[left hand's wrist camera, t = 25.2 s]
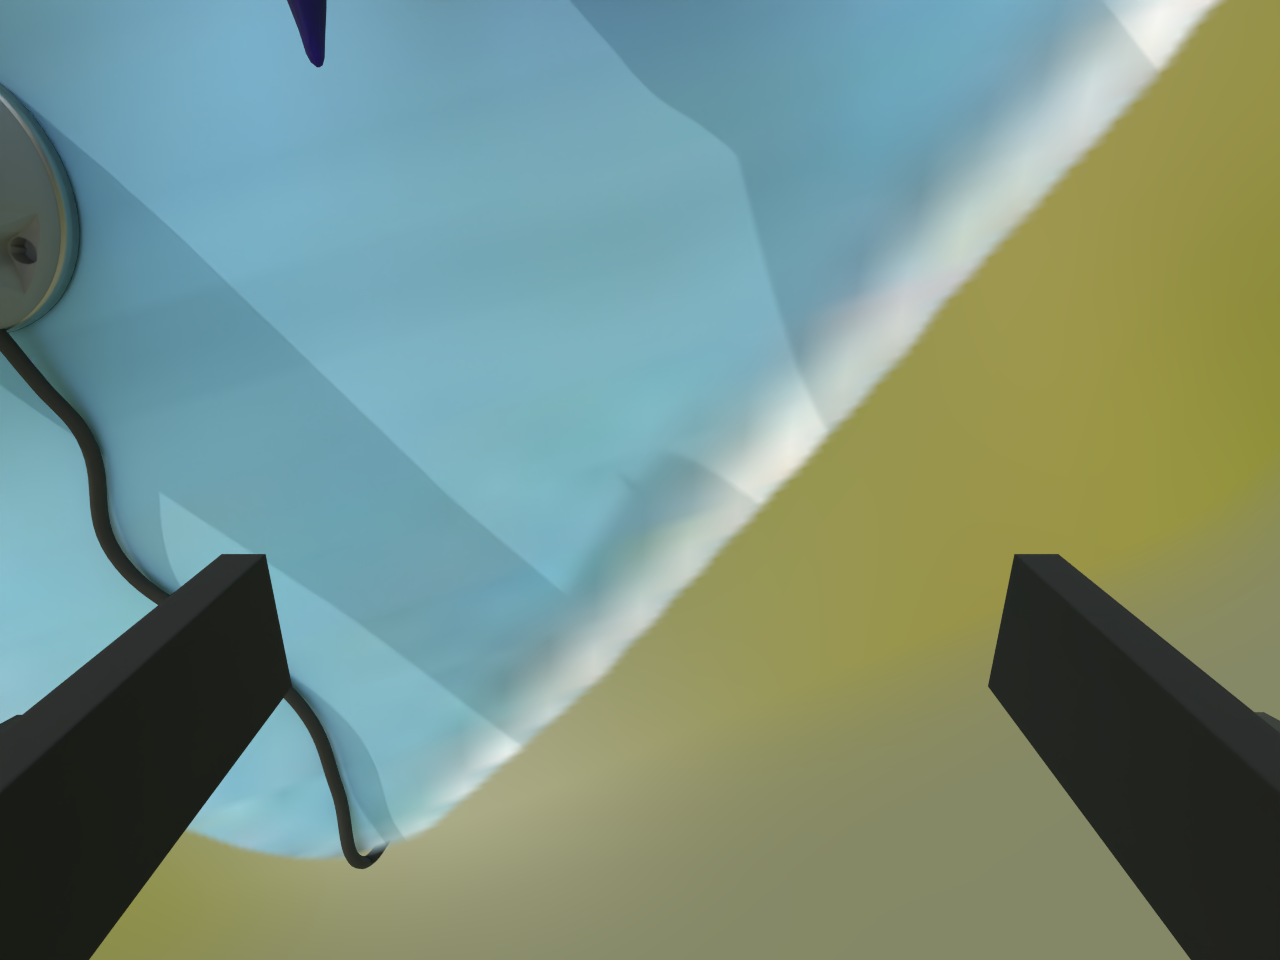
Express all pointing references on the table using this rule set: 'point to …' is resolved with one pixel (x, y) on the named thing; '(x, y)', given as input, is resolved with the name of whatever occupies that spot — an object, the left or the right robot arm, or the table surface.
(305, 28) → the toy
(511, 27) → the table surface
